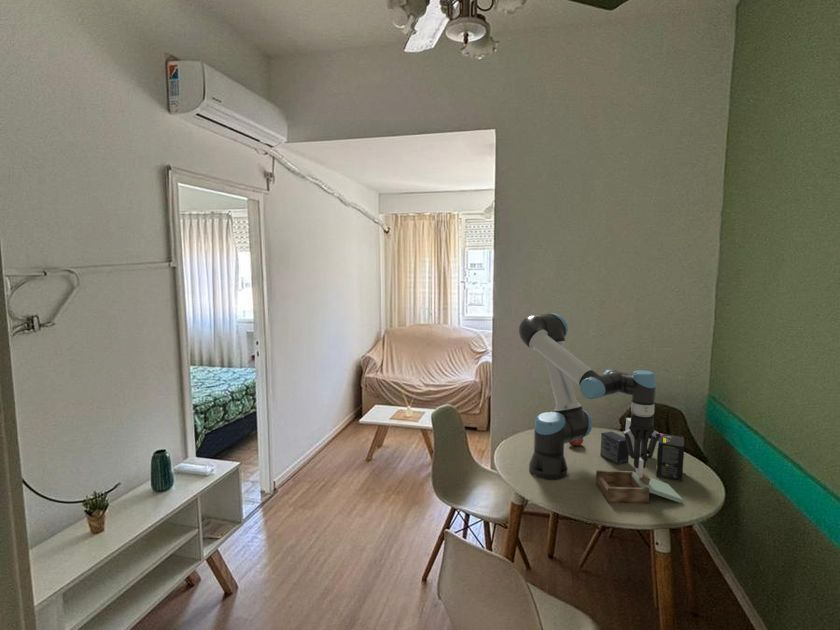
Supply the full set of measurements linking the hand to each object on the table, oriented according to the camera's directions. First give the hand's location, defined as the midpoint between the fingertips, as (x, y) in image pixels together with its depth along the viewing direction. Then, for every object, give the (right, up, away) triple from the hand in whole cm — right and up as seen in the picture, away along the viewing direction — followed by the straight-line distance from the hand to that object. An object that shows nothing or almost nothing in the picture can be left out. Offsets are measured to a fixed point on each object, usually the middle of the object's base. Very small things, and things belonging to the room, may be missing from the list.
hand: (639, 475), depth 175 cm
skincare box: (+16, -2, +38) cm, 41 cm away
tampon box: (+20, -5, +17) cm, 27 cm away
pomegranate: (-9, -1, +46) cm, 47 cm away
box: (-6, -7, +2) cm, 9 cm away
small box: (+3, -3, +31) cm, 31 cm away
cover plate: (+6, -5, 0) cm, 8 cm away
